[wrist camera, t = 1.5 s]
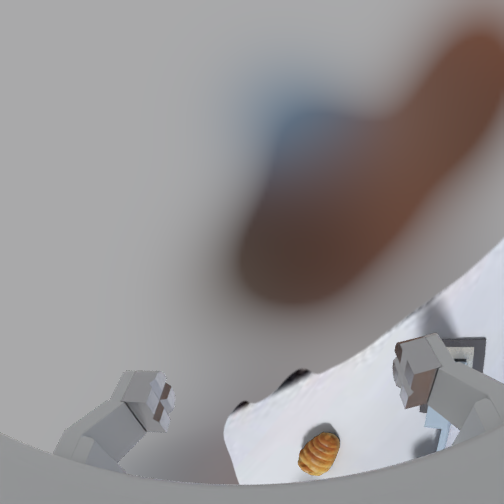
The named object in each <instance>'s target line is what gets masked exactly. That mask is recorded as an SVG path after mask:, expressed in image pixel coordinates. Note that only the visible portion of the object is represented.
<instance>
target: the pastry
mask: <svg viewBox="0 0 504 504" xmlns="http://www.w3.org/2000/svg"><path fill="white" fill-rule="evenodd" d="M339 447H340V440H339V438H338V437H336V436H335V435H334V434H332V433H325V432H322V433H321V434H320V435H318V436H316V437H314V438H313V439H312V440H311V441H309V442H308V443H307V444H306V445H305V447H304V449H302V450H301V451H300V453H299V460H298V465H299V467H300V468H301V469H302V470H303V471H304V472H306V473H308V474H310V475H315V476H320V475H322V474H323V473H325V472H327V471H328V470H329V469H330V467H331V466H332V465H333V462H334V461H335V458H336V456H337V453H338V450H339Z"/></svg>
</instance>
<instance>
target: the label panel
mask: <svg viewBox="0 0 504 504" xmlns="http://www.w3.org/2000/svg"><path fill="white" fill-rule="evenodd" d="M442 341H443V343H444V344H445V346H446V348H447V349H448V351H449V352H450V354H451V356H452V357H453V359H454V361H455V362H467V366H469V367H471V368H473V369H475V370H477V371H479V372H481V373H483V366H484V357H485V347H486V339H473V340H442ZM427 410H428V405H427V403H426V404H423V405H421V407H420V412H423V413H427Z"/></svg>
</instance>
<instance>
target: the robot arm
mask: <svg viewBox="0 0 504 504" xmlns="http://www.w3.org/2000/svg"><path fill="white" fill-rule="evenodd" d="M395 353H396V356H397V357H396V358H395V359H394V360H393V376H394V381H395V383H396V386H398V387H399V388H401V392H400V397H401V400H402V402H403V405H404V408H405V409H408V408H412V407H415V406H419V405H423V404H426V403H427V405H428V406H430V407H431V408H432V409H433V410H435V411H436V412H437V413H439V414H440V415H441V416H442V417H444V418H445V419H446V420H448V421H449V422H450V423H451V424H453V425H454V426H455V427H457V428H458V429H459V430H460V432H459V434H458V435H457V437H456V439H455V440H454V442H453V444H452V446H451V447H448V448H445V449H443V450H440V451H437V452H434V453H431V454H429V455H426V456H422V457H419V458H416V459H413V460H410V461H406V462H403V463H399V464H396V465H392V466H388V467H384V468H380V469H376V470H371V471H367V472H362V473H357V474H352V475H346V476H341V477H334V478H328V479H321V480H313V481H304V482H293V483H280V484H260V485H221V484H201V483H188V482H187V483H186V482H177V481H169V480H160V479H154V478H147V477H141V476H136V475H130V474H126V471H125V470H124V469H123V468H122V467H121V466H120V465H119V464H118V462H119V461H120V460H121V459H122V458H123V457H124V456H125V455H126V454H127V453H128V452H129V451H130V449H132V448H133V447H134V445H135V444H136V443H137V442H138V441H139V440H140V439H141V438H142V437H143V436H144V435H145V434H146V432H160V433H162V432H163V433H167V430H168V426H169V423H170V420H171V419H170V417H169V415H168V414H169V413H170V412H171V411H172V410H173V409H174V405H175V394H174V391H173V389H172V387H171V386H170V385H169V384H167V383H166V379H167V378H166V376H165V374H164V372H162V371H130V370H126V371H125V372H123V374H122V376H121V378H120V380H119V382H118V384H117V386H116V388H115V390H114V392H113V394H112V396H111V398H110V400H109V401H105V402H104V403H102V404H101V405H100V406H98V407H97V408H95V409H94V410H93V411H91V412H90V413H88V414H87V415H86V416H84V417H83V418H82V419H80V420H79V421H77V422H76V423H74V424H73V425H72V426H70V427H69V428H67V429H66V430H65V431H64V433H63V435H62V437H61V438H60V440H59V442H58V444H57V446H56V448H55V450H54V452H53V454H51V453H49V452H46V451H43V450H40V449H38V448H35V447H32V446H30V445H27V444H25V443H23V442H20V441H18V440H16V439H13V438H11V437H9V436H7V435H5V434H3V433H0V504H504V384H503V383H501V382H499V381H497V380H495V379H493V378H491V377H489V376H487V375H485V374H483V373H481V372H479V371H477V370H475V369H473V368H471V367H469V366H467V365H465V364H463V363H461V362H455V361H454V359H453V357H452V356H451V354H450V352H449V351H448V349H447V348H446V346H445V344H444V343H443V341H442V340H441V338H440V337H439V335H438V334H437V333H432V334H429V335H425V336H423V337H418V338H414V339H410V340H406V341H402V342H398V343H397V344H396V346H395Z"/></svg>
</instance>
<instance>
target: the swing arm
mask: <svg viewBox="0 0 504 504" xmlns="http://www.w3.org/2000/svg"><path fill="white" fill-rule="evenodd" d="M461 363H463V364H465V365H467V362H461ZM450 425H451V423H450V422H449V421H448V420H446V419H445V418H444V417H442V416H441V415H440V414H439V413H437V412H436V411H435V410H433V409H432V408H431V407H430V406H428V410H427V415H426V421H425V426H424V427H429V428H437V429H442V430H441V434H440V439H439V443H438V447H437V451H440V450H443V449H445V446H446V442H447V438H448V433H449V429H450ZM437 451H436V452H437Z"/></svg>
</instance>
